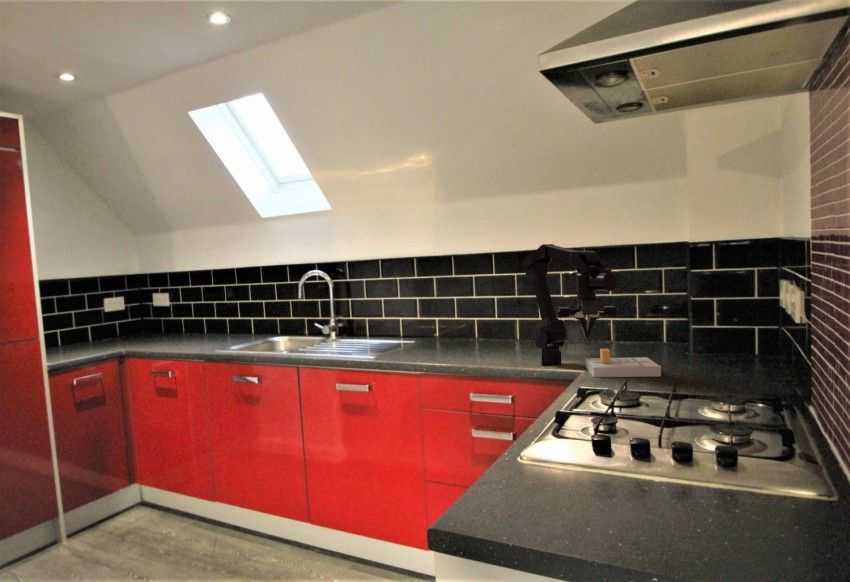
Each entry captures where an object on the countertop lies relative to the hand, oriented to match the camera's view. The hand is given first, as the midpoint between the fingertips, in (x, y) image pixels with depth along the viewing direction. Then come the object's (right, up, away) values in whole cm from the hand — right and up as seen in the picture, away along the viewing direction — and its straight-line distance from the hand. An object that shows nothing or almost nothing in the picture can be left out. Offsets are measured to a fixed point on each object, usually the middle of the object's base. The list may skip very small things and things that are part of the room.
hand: (587, 338), depth 189 cm
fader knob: (+6, -11, 0) cm, 12 cm away
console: (+11, -11, -1) cm, 15 cm away
